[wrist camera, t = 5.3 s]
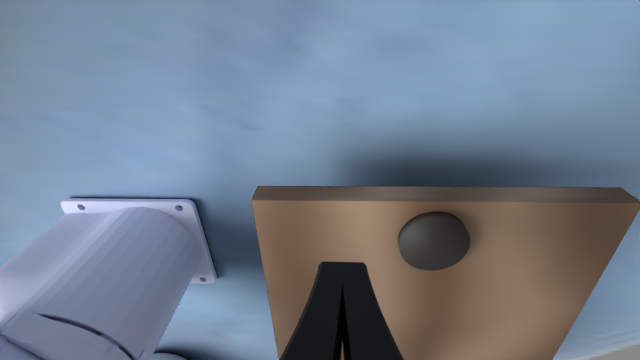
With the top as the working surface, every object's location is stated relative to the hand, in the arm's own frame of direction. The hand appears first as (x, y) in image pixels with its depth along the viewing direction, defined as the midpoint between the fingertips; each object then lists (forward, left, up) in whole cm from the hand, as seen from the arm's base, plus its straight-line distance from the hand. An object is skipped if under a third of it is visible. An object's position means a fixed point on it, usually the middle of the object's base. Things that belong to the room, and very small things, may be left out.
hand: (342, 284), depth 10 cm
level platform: (+4, -10, -5) cm, 12 cm away
